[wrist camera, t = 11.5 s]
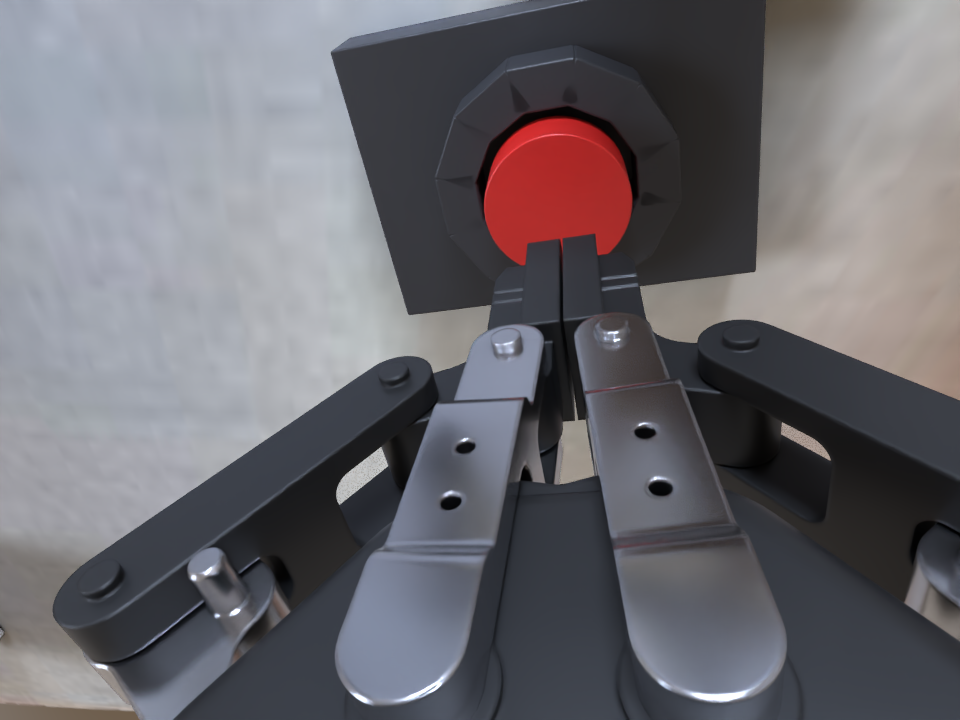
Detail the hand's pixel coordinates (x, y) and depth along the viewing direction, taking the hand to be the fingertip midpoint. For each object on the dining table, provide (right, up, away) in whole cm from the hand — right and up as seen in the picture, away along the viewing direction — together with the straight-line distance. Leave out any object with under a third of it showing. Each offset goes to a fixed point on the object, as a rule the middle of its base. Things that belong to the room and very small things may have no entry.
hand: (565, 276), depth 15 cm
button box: (+1, +5, +8) cm, 9 cm away
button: (0, +3, +5) cm, 6 cm away
